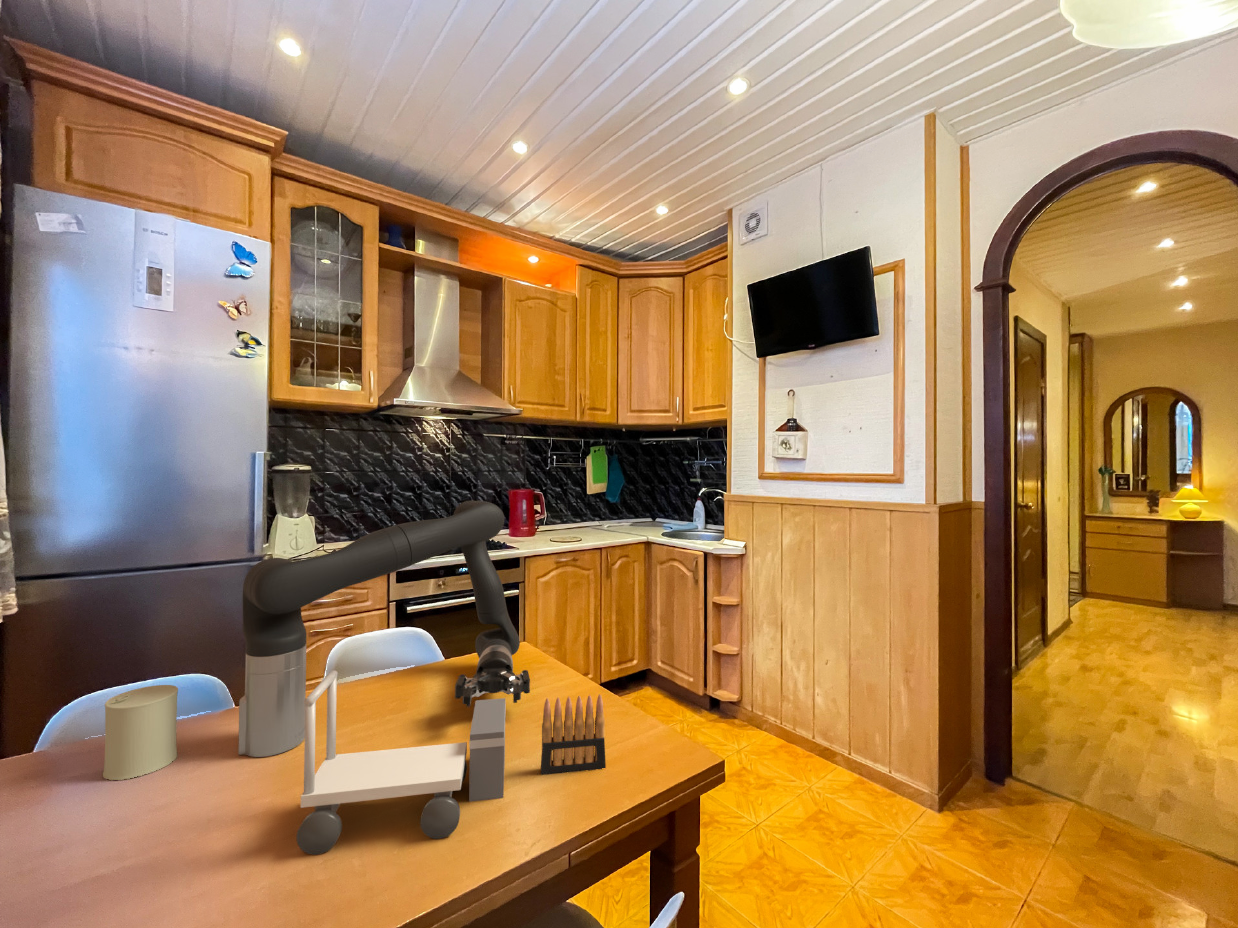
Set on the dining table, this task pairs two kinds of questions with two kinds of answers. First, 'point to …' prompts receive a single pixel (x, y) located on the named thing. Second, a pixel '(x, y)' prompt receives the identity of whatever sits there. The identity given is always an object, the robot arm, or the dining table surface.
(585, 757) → the ammunition clip
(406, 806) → the dining table surface
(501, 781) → the grey lidded box
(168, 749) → the can
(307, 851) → the trolley
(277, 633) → the robot arm
